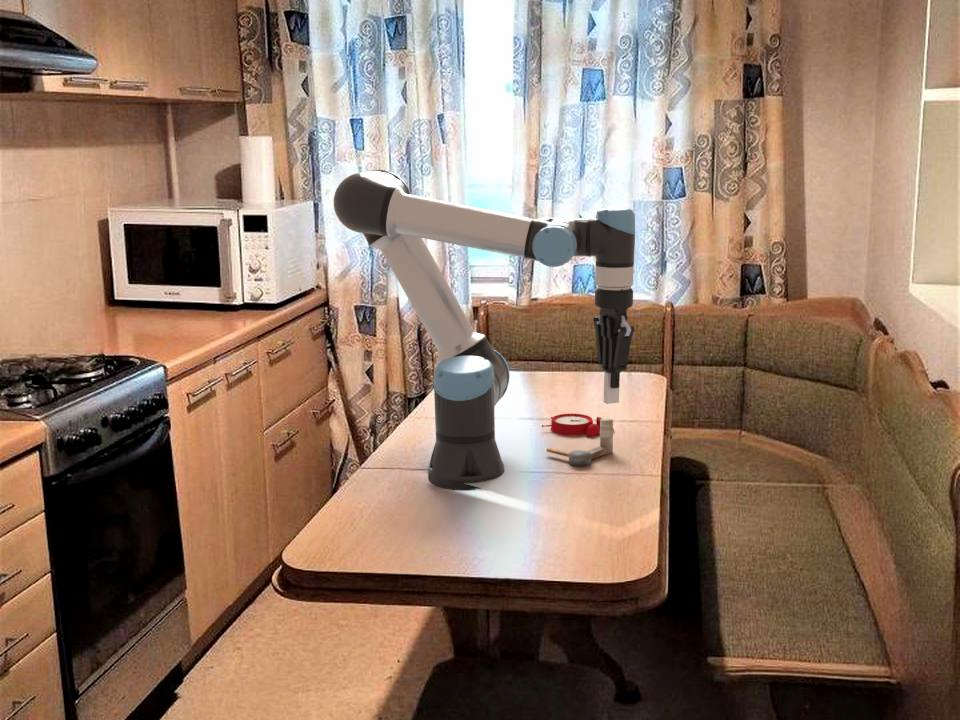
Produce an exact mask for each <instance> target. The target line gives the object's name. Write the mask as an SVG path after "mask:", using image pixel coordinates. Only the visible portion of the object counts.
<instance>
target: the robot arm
mask: <svg viewBox="0 0 960 720" xmlns="http://www.w3.org/2000/svg"><path fill="white" fill-rule="evenodd" d="M333 210H334V213H335V215H336V217H337V218H338V221H340V223H341V224H342V226H344V227H345V228H347V229H349V230H351V231H352V232H355V233H360V234H362V235H363V236H364V238H365V240H366V241H367V244H368V245H369V247H370V248H373V249H376V250H379V251H381V253H382V255H383V256H384V258H385V260H386V262H387V264H388V266H389V267H390V269H391V271H392V272H393V274H394V275H395V278H396V279H397V281H398V283H399V284H400V286H401V288H402V290H403V292H404V293H405V296H406V297H407V298H408V300H409V302H410V304H411V307H413V309H414V311H415V312H416V315H417V317H418V318H419V321H421V324H422V325H423V327H424V329H425V330H426V333H427V334H428V336H429V338H430V339H431V341H432V343H433V344H434V346H435V348H436V351H437V353H438V355H437V358H436V362H435V363H436V367H435V369H434V370H433V371H434V372H433V380H432V384H433V392H434V393H433V395H434V398H433V399H434V417H435V418H434V419H435V421H434V423H435V424H434V425H435V443H434V446H433V449H432V452H431V456H430V461H429V464H428V466H427V478H428V481H429V482H430V483H431V484H433V485H435V486H437V487H440V488H444V489H450V490H459V491H460V490H476V489H480V487H478V486H475V485H471V484H477V483H484V482H488V481H491V480H494V479H497V478H499V477H500V476H502V475H503V474H504V473H505V464H504V462H503V460H502V457H501V453H500V449H499V447H498V444H497V441H496V432H495V431H496V430H495V428H496V426H495V425H496V424H495V422H496V421H495V419H496V418H495V417H496V416H495V406H496V405H497V403H498V402H499V401H500V400H501V399H502V398H503V397H504V395H505V394H506V392H507V389H508V386H509V383H510V377H511V376H510V373H511V372H510V368H509V364H508V362H507V360H506V358H505V357H504V356H503V355H502V354H501V353H500V352H498V350H496V349H494V348H493V346H492V345H491V344H490V342H489V339H488V338H487V336H486V335H485V334H483V333H480V332H477V331H475V330H474V328H473V326H472V324H471V322H470V321H469V319H468V317H467V316H466V314H465V312H464V310H463V308H462V307H461V305H460V303H459V300H458V299H457V298H456V296H455V294H454V293H453V291H452V288H451V287H450V285H449V284H448V282H447V280H446V278H445V276H444V274H443V272H442V270H441V269H440V267H439V266H438V264H437V262H436V260H435V259H434V256H433V255H432V254H431V252H430V249H429V248H428V246H427V244H426V242H425V240H424V239H427V240H431V241H437V242H441V243H445V244H451V245H456V246H462V247H467V248H472V249H478V250H482V251H485V252H486V251H487V252H492V253H498V254H502V255H508V256H513V257H517V258H523V259H527V260H530V261H536V262H539V263H540V264H542V265H543V266H546V267H549V268H555V267H561V266H564V265H565V264H567V263H569V262H570V261H571V260H572V259H573V258H574V257H588V258H589V257H590V258H591V257H595V266H594V272H595V273H594V274H595V275H594V277H595V278H594V285H595V286H597V287H596V288H594V306H596V307H597V308H600V310H599V315H598V316H594V317H593V318H592V321H593V326H594V328H595V329H594V330H595V340H596V353H597V362H598V365H599V366H602V367H601V368H602V370H604V371H603V373H604V375H603V403H605V404H607V405H609V404H618V403H620V378H621V377H620V376H621V372H624V371H627V368H628V363H629V362H628V361H629V356H630V348H631V343H632V336H633V335H634V333H635V327H634V326H633V325H629V323H628V320H629V318H628V313H627V311H628V309H629V308H632V307H633V305H634V289H633V288H632V286H633V285H634V274H635V269H634V266H635V248H636V217H635V216H636V214H635V212H634V211H633V210H632V209H630V208H627V207H626V208H625V207H602V208H598V209H597V211H596V215H595V217H592V218H591V217H590V218H583V217H582V218H576V217H575V218H574V217H554V216H551V217H541V218H538V219H535V218H529V217H526V216H520V215H514V214H511V213H504V212H500V211H494V210H489V209H484V208H480V207H474V206H469V205H465V204H464V205H463V204H460V203H459V204H458V203H453V202H449V201H448V202H447V201H444V200H439V199H438V200H437V199H433V198H429V197H422V196H419V195H414V194H413V195H412V192H411V190H410V187H409V186H408V184H407V183H406V181H405V180H404V179H403V178H402V177H400V176H399V175H398V174H396V173H394V172H392V171H388V170H383V169H373V170H369V171H365V172H364V171H363V172H357V173H353V174H351V175H349V176H347V177H346V178H344V179H343V180H341V182H340V183H339V185H338V186H337V187H336V189H335V192H334V195H333Z"/></svg>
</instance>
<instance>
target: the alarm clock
mask: <svg viewBox="0 0 960 720" xmlns="http://www.w3.org/2000/svg"><path fill="white" fill-rule="evenodd" d="M550 419H551V421H550V422H551V423H550V424H548V425H544V424H542V425H541V428H544V427H547V428H548V427H550V431H551V432H552V433H553V434H557V435H561V436H573V437H574V436H584V435H586V438H594V437H597V436H600V419H603V418H602V417H601V416H596V420H595V421H596V422H595V423H594V420H593V417H591V416H589V415H587V414H581V413H561V414H557V415H554V416H551V417H550ZM613 431H614V428H613Z"/></svg>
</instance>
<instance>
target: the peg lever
mask: <svg viewBox="0 0 960 720" xmlns="http://www.w3.org/2000/svg"><path fill="white" fill-rule="evenodd" d="M613 429H614V419H612V418H609V417H604V418H602V419H600V434H599V437H600V439H599V445H598V446H596V447H594V448H591V449H589V450H583V449H582V450H572V451H570V452H569V451H565V450H560V449H556V448H552V447H548V448H546V452H547V453H551V454H555V455H558V456H563V457H566V458H567V457H568V464H569V465H570V466H572V467H577V468H582V467H583V468H584V467H588V466H591V465H592V460H594V459H596V458H599V457H601V456H605V455H612V454H613V453H614V430H613Z"/></svg>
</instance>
